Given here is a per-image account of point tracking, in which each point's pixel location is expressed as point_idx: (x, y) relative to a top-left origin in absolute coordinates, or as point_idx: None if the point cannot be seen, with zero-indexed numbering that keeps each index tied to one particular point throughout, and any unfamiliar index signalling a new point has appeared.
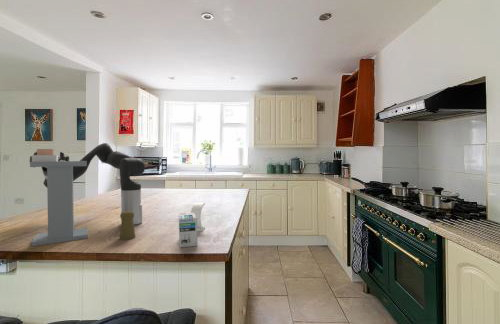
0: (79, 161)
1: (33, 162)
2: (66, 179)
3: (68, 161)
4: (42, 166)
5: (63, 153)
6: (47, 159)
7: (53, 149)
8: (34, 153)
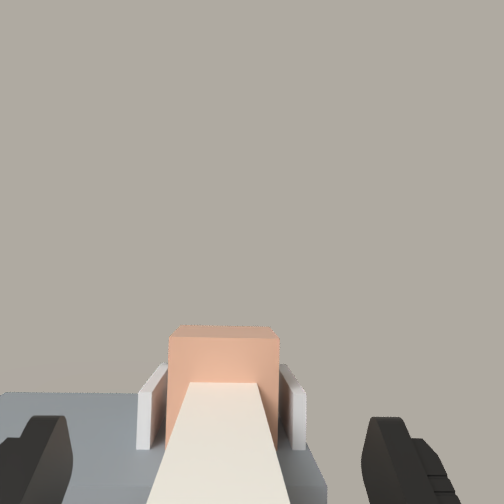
0: (45, 393)
1: None
2: None
3: (103, 393)
4: None
5: (4, 447)
6: None
7: (174, 332)
8: (416, 449)
